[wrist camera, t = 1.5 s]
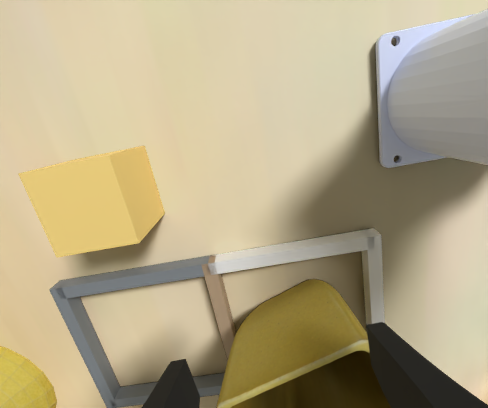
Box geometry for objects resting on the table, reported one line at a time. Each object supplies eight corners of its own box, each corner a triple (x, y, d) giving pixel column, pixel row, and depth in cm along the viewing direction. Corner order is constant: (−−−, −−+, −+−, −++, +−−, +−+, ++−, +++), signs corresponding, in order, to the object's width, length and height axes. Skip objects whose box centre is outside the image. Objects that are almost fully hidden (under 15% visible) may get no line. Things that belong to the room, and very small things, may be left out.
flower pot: (225, 297, 22) (210, 412, 14) (319, 246, 20) (371, 339, 12) (279, 366, 24) (296, 502, 16) (368, 325, 23) (441, 451, 14)
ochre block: (144, 145, 18) (109, 155, 14) (165, 212, 20) (139, 243, 15) (76, 159, 19) (18, 173, 14) (101, 224, 20) (56, 257, 16)
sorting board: (373, 228, 20) (381, 234, 19) (380, 360, 24) (386, 372, 23) (59, 280, 22) (49, 289, 21) (113, 395, 26) (107, 408, 24)
